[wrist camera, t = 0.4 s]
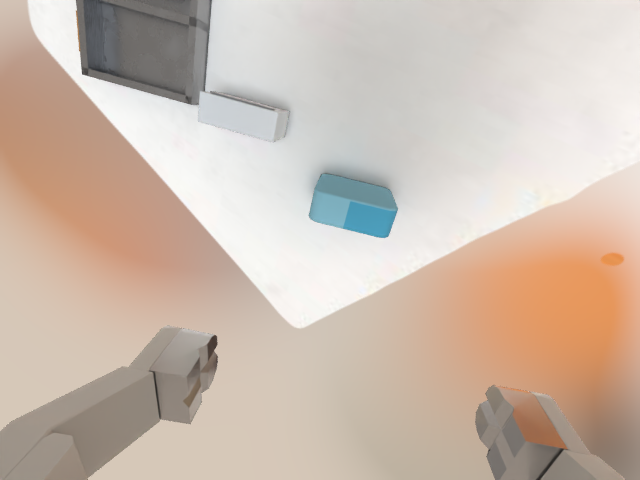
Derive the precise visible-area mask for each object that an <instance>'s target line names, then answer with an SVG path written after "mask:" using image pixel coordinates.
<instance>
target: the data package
mask: <svg viewBox="0 0 640 480" xmlns="http://www.w3.org/2000/svg"><path fill="white" fill-rule="evenodd" d="M397 210H398V208H397V205H396V203H395V200H394V198H393V196H392V193H391V191H390V190H389V189H387V188H384V187H380V186H376V185H372V184H368V183H364V182H360V181H356V180H352V179H348V178H344V177H339V176H335V175H331V174H322V175H321V176H320V179H319V181H318V183H317V185H316V187H315V190H314V194H313V199H312V203H311V208H310V213H309V217H310V219H312V220H313V221H315V222H318V223H322V224H326V225H331V226H335V227H339V228H343V229H347V230H351V231H355V232H359V233H363V234H367V235H371V236H375V237H380V238H386V237H388V236H389V233H390V230H391V228H392V225H393V222H394V219H395V216H396V213H397Z"/></svg>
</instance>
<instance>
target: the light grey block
mask: <svg viewBox="0 0 640 480" xmlns="http://www.w3.org/2000/svg"><path fill="white" fill-rule="evenodd" d="M289 112H290V111H286V110H282V109H279V108H275V107H272V106H268V105H264V104H261V103H257V102H254V101H250V100H246V99H243V98H239V97H236V96H232V95H228V94H225V93H217V92H213V91H210V92H205V91H200V98H199V112H198V122H201V123H205V124H208V125H212V126H215V127H219V128H223V129H226V130H230V131H233V132H237V133H241V134H244V135H248V136H251V137H255V138H259V139H262V140H266V141H269V142H275V141H277V140H279V139H282V138H284V137H285V133H286V128H287V123H288V118H289Z"/></svg>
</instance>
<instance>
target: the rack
mask: <svg viewBox="0 0 640 480" xmlns="http://www.w3.org/2000/svg"><path fill="white" fill-rule="evenodd" d="M211 1H212V0H76V5H77V11H76V16H77V28H78V40H79V51H80V55H81V67H82V74H83V75H87V76H90V77H94V78H97V79H101V80H105V81H108V82H112V83H115V84H119V85H123V86H126V87H130V88H133V89H137V90H141V91H144V92H148V93H151V94H155V95H159V96H162V97H166V98H169V99H173V100H177V101H180V102H184V103H187V104H191V105H199V98H200V91H205V79H206V66H207V53H208V40H209V27H210V14H211Z"/></svg>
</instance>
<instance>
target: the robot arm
mask: <svg viewBox="0 0 640 480" xmlns="http://www.w3.org/2000/svg"><path fill="white" fill-rule="evenodd" d="M216 346H217V336H216V335H213V334H209V333H204V332H199V331H194V330H189V329H185V328H178V327H174V326H169V325H167V326H165V327H163V328H162V329H161V330H160V331H159V332H158V333H157V334H156V336H155V337H154V338H153V339H152V340H151V342H150V343H149V344H148V345H147V346H146V347H145V348H144V350H143V351H142V352H141V353H140V354H139V355H138V356H137V358H136V359H135V360H134V361H133V362H132V363H131V365H130V366H129V367H121V368H119V369H117V370H115V371H113V372H111V373H109V374H107V375H105V376H102V377H101V378H98V379H96V380H95V381H92V382H90V383H88V384H86V385H84V386H82V387H80V388H78V389H76V390H74V391H72V392H70V393H68V394H66V395H64V396H62V397H60V398H58V399H56V400H54V401H52V402H50V403H48V404H46V405H43V406H41V407H39V408H37V409H36V410H33V411H31V412H29V413H27V414H25V415H23V416H21V417H19V418H17V419H15V420H13V421H11V422H10V423H9V424H8V425H7V426H6V427H5V428H3V429H2V430H1V431H0V480H88V479H87V478H88V477H90V476H91V475H92V474H94V473H95V472H96V471H97V470H99V469H100V468H101V467H102V466H104V465H105V464H106V463H107V462H109V461H110V460H111V459H113V458H114V457H115V456H116V455H118V454H119V453H120V452H121V451H123V450H124V449H125V448H127V447H128V446H129V445H130V444H132V443H133V442H134V441H135V440H137V439H138V438H139V437H140V436H142V435H143V434H144V433H145V432H147V431H148V430H149V429H150V428H152V427H153V426H154V425H156V424H157V423H158V422H159V421H160V419H162V420H168V421H174V422H180V423H186V424H191V422H192V420H193V418H194V416H195V414H196V412H197V410H198V408H199V406H200V405H201V403H202V396H201V393H203V392H204V391H205V390H207V389H208V388H209V387H210V385H211V383H212V381H213V378H214V375H215V372H216V369H217V363H218V361H217V360H218V359H217V358H218V356H217V354H216V353H215V352H214V350H215V348H216ZM486 396H487V399H488V400H487V401H485V402H483V403H481V404H480V405H479V407H478V409H477V412H476V421H475V422H476V428H477V432H478V435H479V438H480V440H481V441H482V442H483V443H484V444H485V445H486V447H487V448H488V449H489V451H488V454H487V459H488V462H489V464H490V467H491V470H492V473H493V475H494V478H495V480H626V479H625V478H624V477H622V476H621V475H620V474H619V473H617V472H616V471H615V470H614V469H613V468H611V467H610V466H609V465H607V464H606V463H605V462H604V461H603V460H601V459H600V458H599V457H598V456H595V455H591V454H590V452H589V451H588V449H587V448H586V446H585V445H584V443H583V442H582V440H581V439H580V438H579V436H578V435H577V433H576V432H575V430H574V429H573V427H572V426H571V424H570V423H569V421H568V420H567V418H566V417H565V415H564V414H563V412H562V411H561V409H560V408H559V406H558V405H557V404H556V402H555V401H554V399H553V398H552V397H550V396H549V395H547V394H541V393H535V392H530V391H529V392H528V391H524V390H518V389H512V388H506V387H500V386H495V385H493V386H491V387H489V388H488V390H487V392H486Z"/></svg>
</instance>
